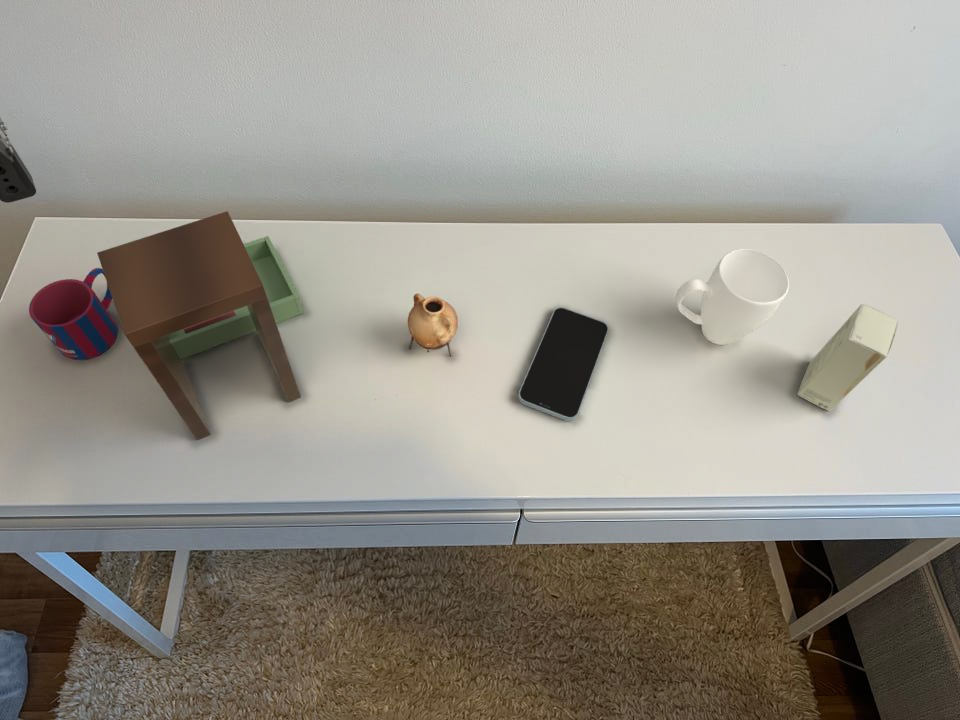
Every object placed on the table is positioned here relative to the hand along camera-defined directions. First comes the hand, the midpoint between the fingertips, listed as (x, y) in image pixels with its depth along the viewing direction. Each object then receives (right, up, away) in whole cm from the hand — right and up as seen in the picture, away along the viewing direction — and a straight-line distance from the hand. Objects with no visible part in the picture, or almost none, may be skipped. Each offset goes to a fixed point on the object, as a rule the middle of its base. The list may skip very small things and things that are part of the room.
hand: (19, 192), depth 45 cm
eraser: (-2, -6, +36) cm, 36 cm away
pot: (+25, -9, +38) cm, 47 cm away
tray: (-1, -4, +39) cm, 39 cm away
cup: (-15, -7, +36) cm, 40 cm away
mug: (+60, -8, +42) cm, 73 cm away
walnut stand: (+3, -14, +33) cm, 36 cm away
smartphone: (+41, -12, +38) cm, 57 cm away
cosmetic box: (+73, -14, +38) cm, 84 cm away
